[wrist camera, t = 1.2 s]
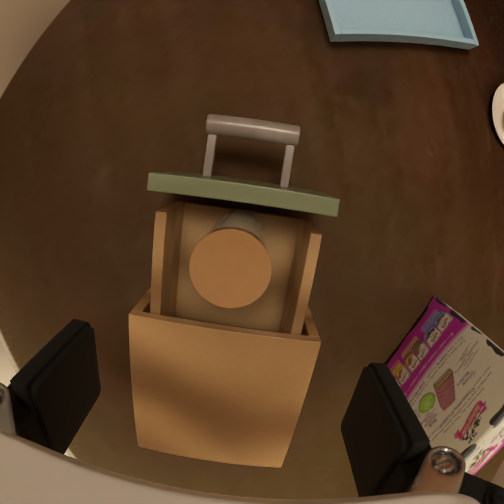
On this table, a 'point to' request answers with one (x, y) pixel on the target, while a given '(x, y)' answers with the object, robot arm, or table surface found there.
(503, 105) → the donut
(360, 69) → the table surface
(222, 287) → the spice pot
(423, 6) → the tray
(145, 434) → the cabinet
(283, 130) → the drawer
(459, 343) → the candy bar box
